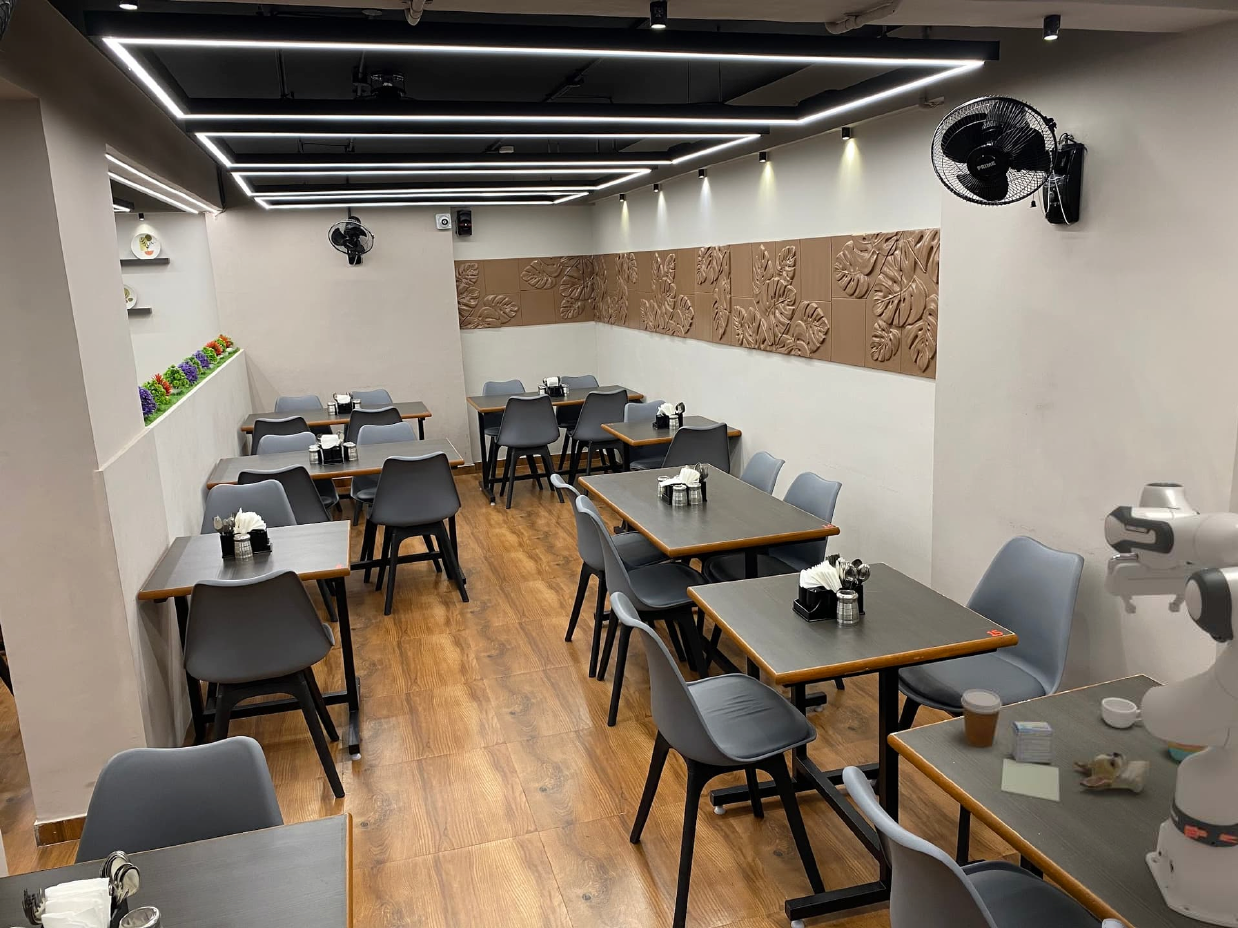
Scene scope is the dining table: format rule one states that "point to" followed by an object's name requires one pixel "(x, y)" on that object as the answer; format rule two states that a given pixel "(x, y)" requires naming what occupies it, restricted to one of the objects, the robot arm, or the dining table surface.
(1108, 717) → the teacup
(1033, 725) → the medicine box
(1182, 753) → the cupcake
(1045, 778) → the mat
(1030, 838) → the dining table surface
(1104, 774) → the ceramic sculpture
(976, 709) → the disposable coffee cup
